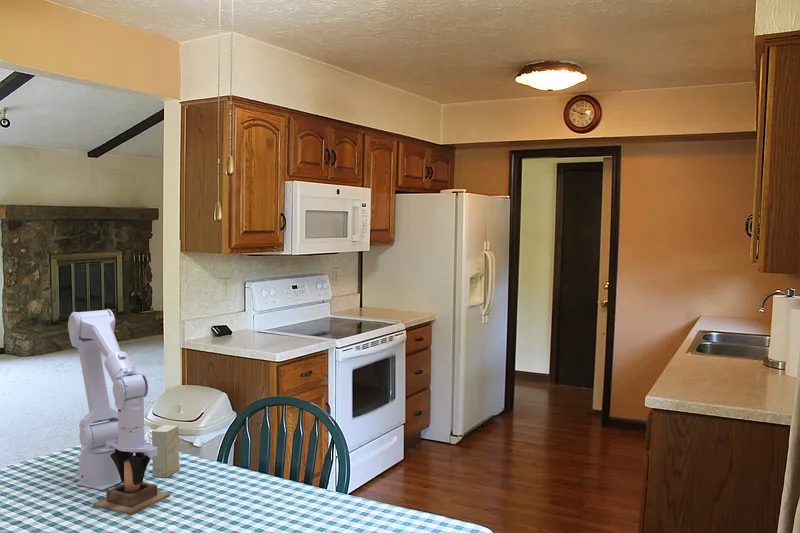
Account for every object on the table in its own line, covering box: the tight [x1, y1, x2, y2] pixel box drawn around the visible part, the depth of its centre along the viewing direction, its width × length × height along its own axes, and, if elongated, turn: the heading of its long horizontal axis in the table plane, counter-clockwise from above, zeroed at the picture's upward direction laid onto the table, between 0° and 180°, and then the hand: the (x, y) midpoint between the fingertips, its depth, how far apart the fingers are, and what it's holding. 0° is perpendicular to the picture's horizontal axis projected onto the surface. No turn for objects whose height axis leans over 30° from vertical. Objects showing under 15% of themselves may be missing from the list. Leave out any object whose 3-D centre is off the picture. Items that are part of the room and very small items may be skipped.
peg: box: [123, 459, 140, 492], centre depth 157 cm, size 4×4×7 cm
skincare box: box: [151, 424, 180, 478], centre depth 175 cm, size 6×4×12 cm
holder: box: [92, 481, 171, 516], centre depth 157 cm, size 12×12×3 cm
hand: (132, 482), depth 157 cm, fingers closed on peg, 3 cm apart
